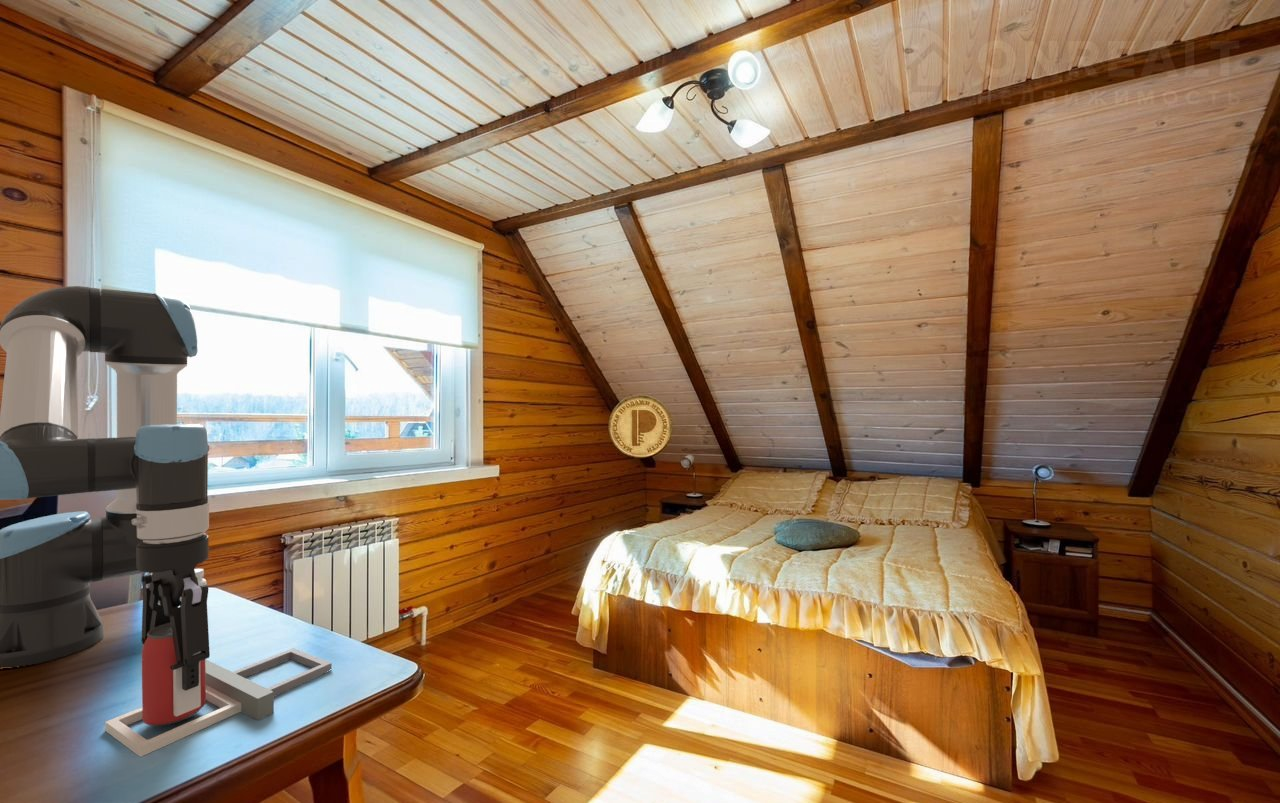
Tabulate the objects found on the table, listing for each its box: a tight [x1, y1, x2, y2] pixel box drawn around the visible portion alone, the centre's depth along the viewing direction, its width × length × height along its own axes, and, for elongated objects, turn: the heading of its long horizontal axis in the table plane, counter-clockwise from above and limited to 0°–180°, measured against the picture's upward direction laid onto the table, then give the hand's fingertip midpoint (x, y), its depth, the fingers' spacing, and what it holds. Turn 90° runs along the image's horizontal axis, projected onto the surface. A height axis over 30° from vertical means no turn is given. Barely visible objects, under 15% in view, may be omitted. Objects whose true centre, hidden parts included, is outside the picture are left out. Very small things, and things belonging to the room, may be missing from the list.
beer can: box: [141, 622, 207, 727], centre depth 74 cm, size 7×7×12 cm
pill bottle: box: [179, 568, 208, 607], centre depth 114 cm, size 4×4×8 cm
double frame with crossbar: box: [104, 647, 333, 758], centre depth 80 cm, size 20×24×3 cm
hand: (175, 703), depth 74 cm, fingers closed on beer can, 6 cm apart
